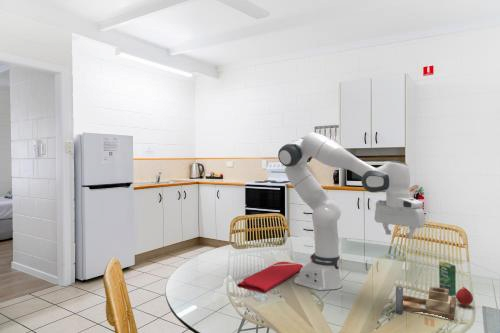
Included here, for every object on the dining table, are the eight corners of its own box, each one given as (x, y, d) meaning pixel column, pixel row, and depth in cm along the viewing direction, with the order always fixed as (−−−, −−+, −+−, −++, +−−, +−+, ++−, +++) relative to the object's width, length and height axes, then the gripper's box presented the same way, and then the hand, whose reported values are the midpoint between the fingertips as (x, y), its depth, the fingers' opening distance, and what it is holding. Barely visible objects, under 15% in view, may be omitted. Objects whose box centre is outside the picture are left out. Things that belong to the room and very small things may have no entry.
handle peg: (395, 313, 138) (395, 287, 138) (396, 311, 140) (396, 285, 140) (402, 315, 136) (402, 288, 136) (403, 312, 138) (403, 286, 138)
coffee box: (438, 289, 164) (438, 260, 164) (444, 289, 165) (444, 260, 165) (449, 295, 156) (450, 265, 156) (456, 295, 157) (456, 265, 157)
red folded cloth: (236, 287, 167) (236, 279, 167) (278, 266, 201) (278, 259, 201) (265, 294, 158) (265, 286, 158) (304, 271, 193) (304, 264, 193)
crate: (425, 311, 138) (426, 291, 138) (428, 305, 145) (428, 285, 145) (449, 316, 134) (449, 295, 134) (450, 309, 141) (451, 289, 140)
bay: (398, 309, 142) (398, 296, 142) (403, 299, 152) (403, 287, 152) (454, 321, 131) (454, 307, 131) (455, 309, 141) (455, 297, 141)
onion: (466, 303, 148) (467, 284, 148) (476, 309, 142) (476, 289, 142) (453, 303, 148) (453, 284, 148) (461, 309, 142) (461, 289, 142)
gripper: (371, 200, 149) (371, 233, 149) (417, 204, 132) (418, 241, 132) (380, 199, 153) (380, 231, 153) (427, 202, 136) (427, 239, 136)
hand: (398, 236), depth 142 cm, fingers open, 8 cm apart
